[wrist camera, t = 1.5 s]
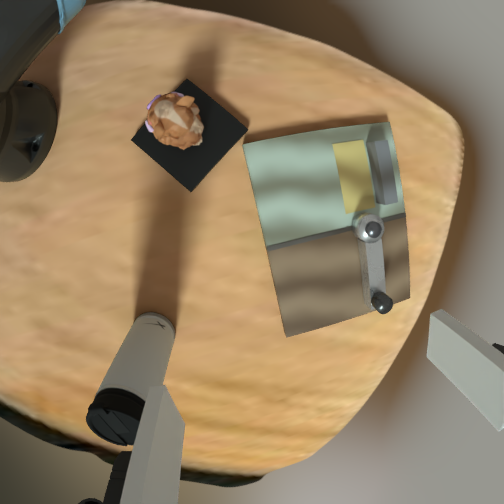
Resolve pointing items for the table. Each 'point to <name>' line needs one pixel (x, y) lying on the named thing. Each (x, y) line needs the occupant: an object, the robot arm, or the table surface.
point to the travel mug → (132, 379)
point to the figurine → (188, 133)
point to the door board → (327, 219)
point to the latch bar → (372, 260)
